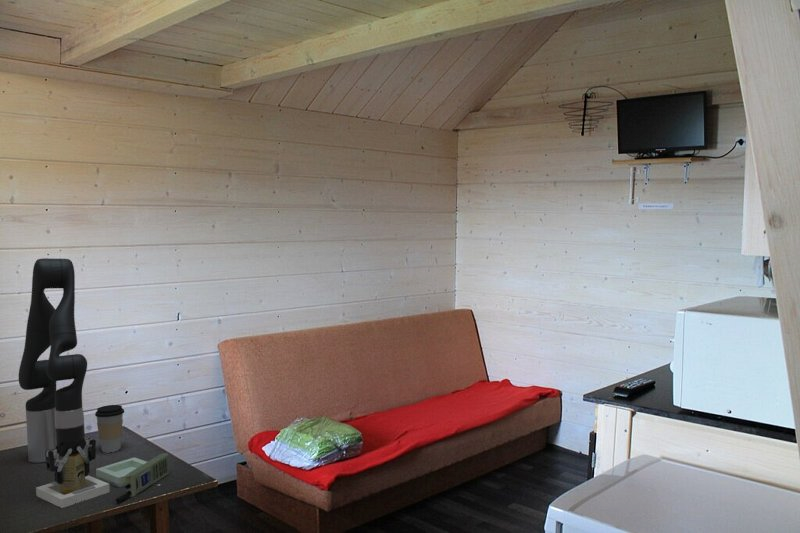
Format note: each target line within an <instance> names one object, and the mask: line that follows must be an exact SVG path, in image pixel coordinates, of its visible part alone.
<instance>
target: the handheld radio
mask: <svg viewBox="0 0 800 533" xmlns="http://www.w3.org/2000/svg"><path fill="white" fill-rule="evenodd" d="M146 462H147V463H145V464H143V465H142V466H140V467H138V468H136V469H135V470H133V471H131V472H130V473H128V474H126V476H125V477H126V480H125V481H126V486H124V487H125V489H126V493H124V494H121V495H120V496H119V497H117V498H115V502H116V504H119V503H121V502H122V501H123V500H125V499H127V498H128V497H130V498H133V497H135V496H137V495H139V494H140V493H141V492H143V491H144V490H146V489H147V488H149V487H150V486H152V485H153V484H156V483H157V482H159V481H160V480H162V479H163V478H165V477H166V476H167V475H169V474H170V465H169V464H170V463H169V462H170V461H169V454H168V452H165V453H160V454H159V455H157V456H155V457H154V458H152V459H150V460H148V461H146Z"/></svg>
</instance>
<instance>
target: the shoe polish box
mask: <svg viewBox="0 0 800 533" xmlns="http://www.w3.org/2000/svg"><path fill="white" fill-rule="evenodd" d="M81 453H82V452H81ZM81 453H77V454H73V455H69V456H68V459H67V462H66V464H64V466H63V468H62V470H61V471H62V476H63V484H60V492H59V493H61V494H63V495H66V494H69V493H72V492H74V491H77V490H80V489H83V488H86V481H85V461H84V460H83V458H82V456H81ZM58 458H59V460H62V459H63V457H62V456H58Z"/></svg>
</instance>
